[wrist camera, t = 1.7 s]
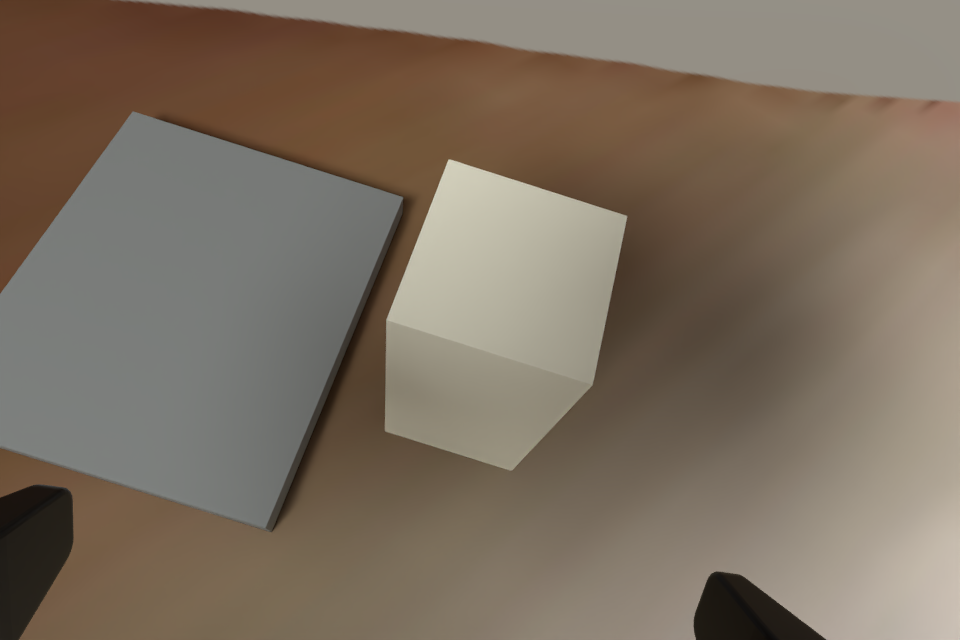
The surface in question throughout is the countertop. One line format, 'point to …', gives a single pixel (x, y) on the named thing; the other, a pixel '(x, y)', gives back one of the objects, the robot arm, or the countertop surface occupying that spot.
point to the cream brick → (498, 315)
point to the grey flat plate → (188, 318)
